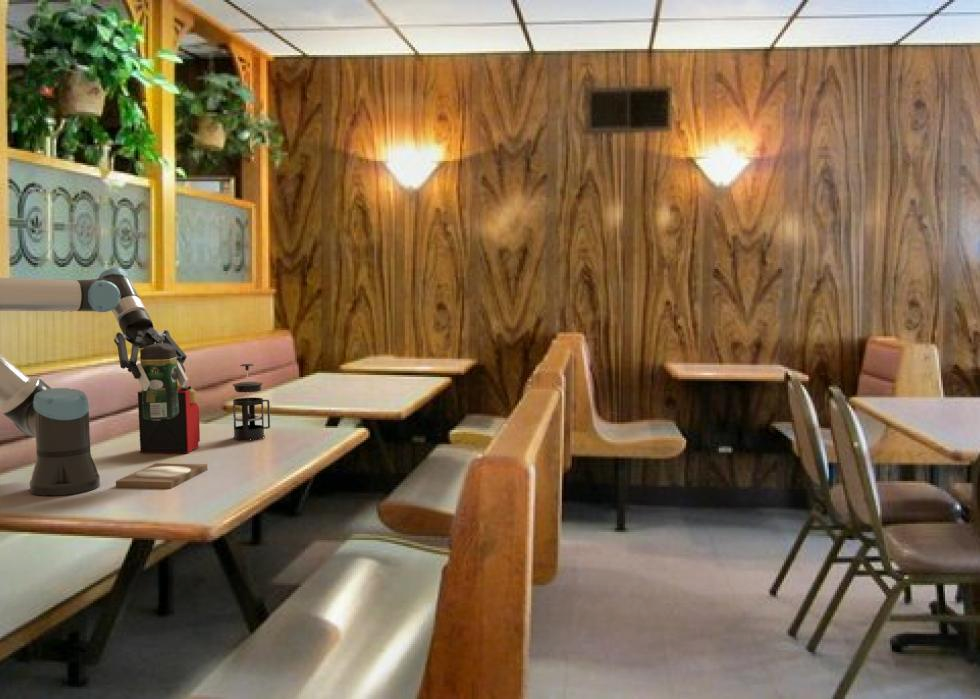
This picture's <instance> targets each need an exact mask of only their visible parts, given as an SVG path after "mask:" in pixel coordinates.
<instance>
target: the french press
mask: <svg viewBox="0 0 980 699" xmlns="http://www.w3.org/2000/svg"><path fill="white" fill-rule="evenodd" d="M239 366H240V367H245V372H246V381H241V382H236V383H233V384H232V386H233V387H234V390H235V392H236V393H246V394H247V397H240V398H233V400H232V405H233V407H232V408H233V409H232V410H233V411H232V412H233V440H235V439H236V440H235V441H241V440H249V441H251V440H250V439H258V440H260V439H259V438H262V439H264V438H265V437H266V434H265V430H266V429H271V408H270V404H271V403H270V399H264V398H263V397H249V393H256V392H261V391H262V386H263V382H257V381H249V370H250V369H249V368H250V367H253V366H255V364H253V363H241V364H239ZM264 402H266V403H267V404H266V405H267V426H265V420H264ZM259 405H260V407H261V409H260V410H261V415H257V414H256V409H255V406H259ZM236 406H238V407H241V414H242V415H239V416H237V415H236ZM256 421H257V422H258V421H261V424H256ZM236 422H242V423H241V425H238V426H237V423H236ZM263 437H264V438H263Z"/></svg>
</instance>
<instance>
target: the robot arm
mask: <svg viewBox="0 0 980 699" xmlns="http://www.w3.org/2000/svg"><path fill="white" fill-rule="evenodd" d="M110 311H111V312H112V314H113V315H114V317H115V319H116V322H117V324H118V326H119V328H120V331H121V332H122V333H121V332H116V335H115V336H114V338H113V341H114V344H116V346H117V353H118V361H119V366H120V368H121V369H123V370H124V369H127V372H128V373H131V374H132V376H133V378H134V379H135V380H138V382H139V385H140V386H141V388H143V391H147V389H148V387H149V385H150V382H149V380H148V378H147V376H146V374H145V372H144V370H143V368H142V366H141V362H140V363H139V362H138V356H139V353H140V349H143V348H144V347H145V346H149V345H153V344H156V343H170V344H171V345H173V346H174V347H175V348H176V354H177V356H176V357H177V382H179V383H178V384H180V385H181V387H185V386H187V382H188V381H189V379H188V377H187V375H186V368H185V366H184V363H185V361H186V359H187V357H188V356H187V354H186V353H185V352H184V351H183V349H182V348H181V347H180V346H179V345H178V344H177V343H176V341H175V340H174V339H173V338H172V336H171V334H170V331H169V330H167V329H166V330H163V331H157V329H155V327H154V323H153V321H152V318H151V317H150V315H149V313H148V311H147V309H146V307H145V305H144V303H143V300H141V297H140V296H139V294H138V291H137V290H136V288H135V286H134V282H133V280H132V279H131V278H130V276H129V274H128V273H127V272H126V270H124V269H123V268H120V267H110V268H109V269H108V270H107V269H105V270H103V271H102V272H101V273H100V274H99V276H98V277H97V278H94V279H62V278H61V279H56V278H27V277H26V278H25V277H22V278H20V277H0V312H63V313H64V312H72V313H73V312H98V313H107V312H110ZM126 342H128V343H130V344H131V349H130V350H131V352H130V358H129V356H128V348H127V343H126ZM137 362H138V363H137ZM88 399H89V398H88V395H87V393H85V392H84V391H82V390H79V389H76V388H68V387H56V388H52V387H50V386H49V384H47V383H46V382H45V381H43V380H42V379H41V378H40V377H39V376H35V375H33V376H27V374H25V373H24V372H23V371H22V370H20V369H19V368H18V367H17V366H16V365H14V364H13V362H11V361H10V360H9V359H7V358H6V357H5V356H4V355H3V354H1V353H0V412H1V413H2V414H3V416H5V417H7V418H8V419H9V420H10V421H12V422H13V424H14V426H15V427H16V428H17V429H18V431H20V432H22V433H23V434H25V435H27V436H30V437H34V438H35V445H36V446H35V447H36V448H35V450H36V461H35V464H34V468H33V471H32V474H31V479H30V481H29V489H30V490H29V493H31V494H32V493H33V494H32V495H36V494H37V495H36V496H46V495H53V496H66V495H73V494H74V495H75V494H80V493H84V492H89V491H92V490H95V489H96V488H98V487H100V485H101V480H100V479H101V478H100V474H99V472H98V469H97V467H96V463H95V461H94V459H93V457H92V453H91V435H90V434H91V433H90V432H91V431H90V403H89V400H88Z"/></svg>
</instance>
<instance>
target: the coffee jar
mask: <svg viewBox="0 0 980 699" xmlns="http://www.w3.org/2000/svg"><path fill="white" fill-rule="evenodd" d="M155 343H156V342H155ZM139 353H140V355H139V356H140V357H139V359H140V363H141V366H142V368H143V370H144V372H145V374H146V376H147V378H148V380H149V382H150V385H149V387H148V389H147V391H143V388H142V387H141V388H142V390H141V391H142V409H143V418H144V419H150V420H161V419H171V418H173V417H175V416H177V415H178V414H179V401H178V387H177V383H178V379H177V357H176V356H177V354H176V348H175V347H174V346H173V345H171V344H170V343H163V342H162V343H156V344H153V345H149V346H145V347H144V348H140V349H139Z"/></svg>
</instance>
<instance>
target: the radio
mask: <svg viewBox="0 0 980 699" xmlns="http://www.w3.org/2000/svg"><path fill="white" fill-rule="evenodd" d="M177 387H178V401H179V414H178V415H177V416H175V417H173V418H171V419H161V420H150V419H144V418H143V409H142V390H139V391H137V404H138V405H137V406H138V430H139V447H140V453H141V454H142V453H143V454H145V453H147V454H149V453H150V454H151V453H152V454H153V453H154V454H155V453H156V454H158V453H159V454H190V453H191V452H192V451H193V450H194V449H198V448H199V443H200V441H201V436H200V435H201V431H200V430H201V429H200V409H199V408H200V407H199V405H198V403H197V402H196V401H197V391H196V390H195V389H194V388H192V386H191V385H185V387H181V385H180V383H178V382H177Z"/></svg>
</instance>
